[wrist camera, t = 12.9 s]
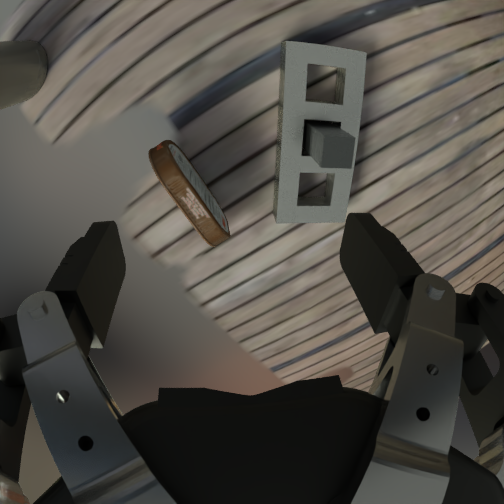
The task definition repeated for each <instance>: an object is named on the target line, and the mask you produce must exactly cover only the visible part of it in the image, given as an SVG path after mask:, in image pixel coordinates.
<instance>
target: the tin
mask: <svg viewBox="0 0 504 504" xmlns="http://www.w3.org/2000/svg"><path fill="white" fill-rule="evenodd" d="M149 159H150V163H151V165H152V168H153V170H154V172H155V174H156V176H157V177H158V179H159V181H160V182H161V184H162V185H163V187H164V188H165V190H166V191H167V192H168V194H169V195H170V196H171V198H172V199H173V200H174V202H175V203H176V204H177V206H178V207H179V208H180V209H181V211H182V212H183V213H184V215H185V216H186V217H187V219H188V220H189V221H190V223H191V224H192V225H193V227H194V228H195V229H196V231H197V232H198V233H199V235H200V236H201V237H202V238H203V239H204V240H205V241H206V242H207V243H208V244H209V245H210V246H212V247H216V246H217V245H218V244H219V243H221V242H223V241H224V240H226V239H228V238H229V237H230V231H229V227H228V221H227V219H226V217H225V215H224V213H223V211H222V209H221V207H220V206H219V204H218V202H217V201H216V199H215V198H214V196H213V195H212V193H211V192H210V190H209V189H208V187H207V186H206V184H205V183H204V181H203V180H202V178H201V177H200V176H199V174H198V173H197V171H196V170H195V168H194V167H193V165H192V164H191V163H190V161H189V160H188V158H187V157H186V156H185V154H184V153H183V152H182V151H181V149H180V148H179V147H178V146H177V145H176V144H175V143H174V142H172V141H171V140H165V141H163V142H161V143H160V144H159V145H157V146H156V147H154V148H152V149H150V150H149Z"/></svg>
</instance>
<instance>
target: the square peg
mask: <svg viewBox="0 0 504 504" xmlns="http://www.w3.org/2000/svg"><path fill="white" fill-rule="evenodd" d="M302 147H303V148H304V150H305V151H306V152H307V153H308V154H309V155H310V156H311V157H312V158H313V159H314V161H315V162H316V163H317V164H318V165H319V166H320V167H321V168H345V169H352V162H353V155H354V147H355V137H354V136H352V135H350V134H349V133H347V132H346V131H344V130H342V129H341V128H339V127H338V126H336V125H334V124H333V123H331V122H329V121H320V120H304V128H303V141H302Z"/></svg>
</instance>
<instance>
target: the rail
mask: <svg viewBox="0 0 504 504" xmlns="http://www.w3.org/2000/svg"><path fill="white" fill-rule="evenodd" d="M366 55H367V52H362V51H357V50H352V49H346V48H340V47H334V46H327V45H320V44H312V43H304V42H294V41H284V42H281V60H280V86H279V109H278V130H277V149H276V168H275V186H274V203H273V215H274V218H275V221H276V223H325V222H345V217H346V212H347V206H348V201H349V195H350V189H351V183H352V177H353V171H354V164H355V158H356V151H357V144H358V136H359V128H360V120H361V111H362V102H363V92H364V81H365V69H366ZM308 64H313V65H322V66H330V67H337V78H336V91H335V102H332V101H321V100H310V99H306V83H307V65H308ZM304 119H311V120H325V121H333V124H334V125H336V126H338V127H339V128H341V129H342V130H344V131H346V132H347V133H349V134H350V135H352V136H354V137H355V147H354V155H353V162H352V169H345V168H321V167H320V166H319V165H318V164H317V163H316V162H315V161H314V159H313V158H312V157H311V156H310V155H309V154H308V153H307V152H306V151H305V150H302V141H303V128H304ZM300 172H301V173H327V177H326V185H325V192H324V197H298V187H299V177H300Z"/></svg>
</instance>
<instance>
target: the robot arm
mask: <svg viewBox="0 0 504 504" xmlns="http://www.w3.org/2000/svg"><path fill="white" fill-rule="evenodd" d="M47 67H48V61H47V55H46V52H45V50H44V49H43V47H42V46H41V45H40V44H39V43H37V42H35V41H3V42H0V110H2V109H4V108H7V107H10V106H13V105H15V104H18V103H21V102H24V101H27V100H28V99H30V98H32V97H33V96H34V95H35V94H36V93H37V92H38V91H39V89H40V88H41V86H42V84H43V83H44V80H45V77H46V73H47ZM340 263H341V266H342V269H343V270H344V272H345V274H346V276H347V278H348V280H349V282H350V284H351V286H352V288H353V290H354V292H355V294H356V296H357V298H358V300H359V302H360V304H361V306H362V308H363V310H364V312H365V314H366V316H367V318H368V320H369V323H370V325H371V327H372V329H373V331H374V333H375V334H377V333H383V332H388V333H389V335H390V336H389V338H388V340H387V343H386V346H385V349H384V352H383V355H382V358H381V361H380V363H379V366H378V369H377V372H376V375H375V377H374V380H373V383H372V385H371V387H370V389H369V391H368V392H365V391H362V390H358V389H353V388H348V387H342V384H341V381H340V378H339V375H336V376H330V377H323V378H316V379H309V380H301V381H296V382H293V383H290V384H287V385H284V386H281V387H279V388H275V389H272V390H269V391H266V392H263V393H260V394H257V395H251V396H248V395H241V394H235V393H229V392H223V391H218V390H212V389H207V388H159V395H158V400H157V401H154V402H150V403H147V404H144V405H141V406H139V407H137V408H135V409H133V410H131V411H130V412H128V413H126V414H125V415H123V413H122V412H121V410H119V408H118V406H117V404H116V403H115V401H114V400H113V398H112V396H111V395H110V393H109V391H108V390H107V388H106V386H105V385H104V383H103V381H102V380H101V378H100V376H99V374H98V372H97V370H96V368H95V367H94V365H93V363H92V361H91V359H90V358H89V356H88V355H89V351H90V348H103V347H104V343H105V339H106V336H107V332H108V329H109V325H110V322H111V318H112V315H113V311H114V308H115V305H116V302H117V298H118V295H119V292H120V289H121V286H122V283H123V280H124V277H125V271H126V264H125V257H124V254H123V249H122V245H121V241H120V237H119V233H118V228H117V225H116V223H115V222H114V221H104V222H94V223H93V224H92V225H91V227H90V228H89V230H88V231H87V233H86V235H85V237H81V238H80V239H78V240H77V241H76V242H75V243H74V244H72V245H71V246H70V248H69V250H68V251H67V253H66V255H65V258H63V260H62V261H61V263H60V266H58V268H57V270H56V272H55V273H54V275H53V277H52V279H51V281H50V282H49V284H48V286H47V288H46V290H45V291H42V292H38V293H35V294H33V295H31V296H30V297H28V298H27V299H26V300H25V301H24V302H23V303H22V304H21V306H20V307H19V309H18V312H17V314H15V315H11V316H8V317H4V318H0V504H30V503H29V500H28V498H27V497H26V496H25V495H24V494H23V491H22V488H21V486H20V484H19V483H18V482H19V472H20V463H21V455H22V448H23V442H24V435H25V430H26V425H27V420H28V415H29V410H30V406H31V404H32V407H33V409H34V412H35V415H36V418H37V421H38V423H39V426H40V429H41V431H42V434H43V436H44V439H45V441H46V443H47V446H48V448H49V450H50V452H51V455H52V457H53V459H54V461H55V463H56V465H57V467H58V470H59V472H60V473H61V477H60V478H59V479H58V480H57V481H56V482H55V483H54V484H53V485H52V486H51V487H50V488H49V489H48V490H47V491H46V492H44V493H43V494H42V495H41V496H40V497H39V498H38V499H37V500H36V501H35V502H34V503H33V504H504V295H503V293H502V292H501V291H500V290H499V289H497V288H496V287H494V286H493V285H490V284H487V283H479V284H477V285H476V286H475V288H474V290H473V292H472V294H471V295H466V294H459V293H455V290H454V288H453V287H452V285H451V284H450V283H449V282H448V281H446V280H445V279H444V278H442V277H440V276H438V275H435V274H430V273H425V272H424V271H423V270H422V268H421V267H420V266H419V265H418V263H417V262H416V261H415V259H414V258H413V257H412V256H411V254H410V253H409V252H407V249H406V248H405V247H404V246H403V244H401V242H400V241H399V239H398V238H397V237H396V236H395V235H394V234H393V233H392V232H390V231H389V230H387V229H386V228H384V227H383V226H381V225H380V224H379V223H378V222H377V220H376V219H375V218H374V217H373V216H372V215H371V214H370V213H349V214H348V216H347V219H346V224H345V229H344V234H343V238H342V243H341V248H340ZM487 339H488V340H489V342H490V343H491V345H492V347H493V349H494V350H495V352H496V354H497V356H498V358H499V361H500V368H499V371H498V373H497V374H496V376H495V377H494V378H493V376H492V374H491V372H490V370H489V368H488V366H487V364H486V362H485V360H484V358H483V356H482V354H481V353H480V351H479V350H480V349H481V347H482V346H483V345H484V343H485V342H486V340H487ZM459 397H460V399H461V401H462V403H463V406H464V409H465V411H466V414H467V416H468V419H469V421H470V424H471V427H472V429H473V432H474V435H475V437H476V440H477V443H478V446H479V456H477V457H476V458H475V459H474V460H472V459H471V458H469V457H468V456H466V455H464V454H463V453H461V452H460V451H458V450H457V449H455V448H453V447H452V446H451V445H450V443H451V439H452V434H453V429H454V424H455V419H456V413H457V406H458V400H459Z"/></svg>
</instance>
